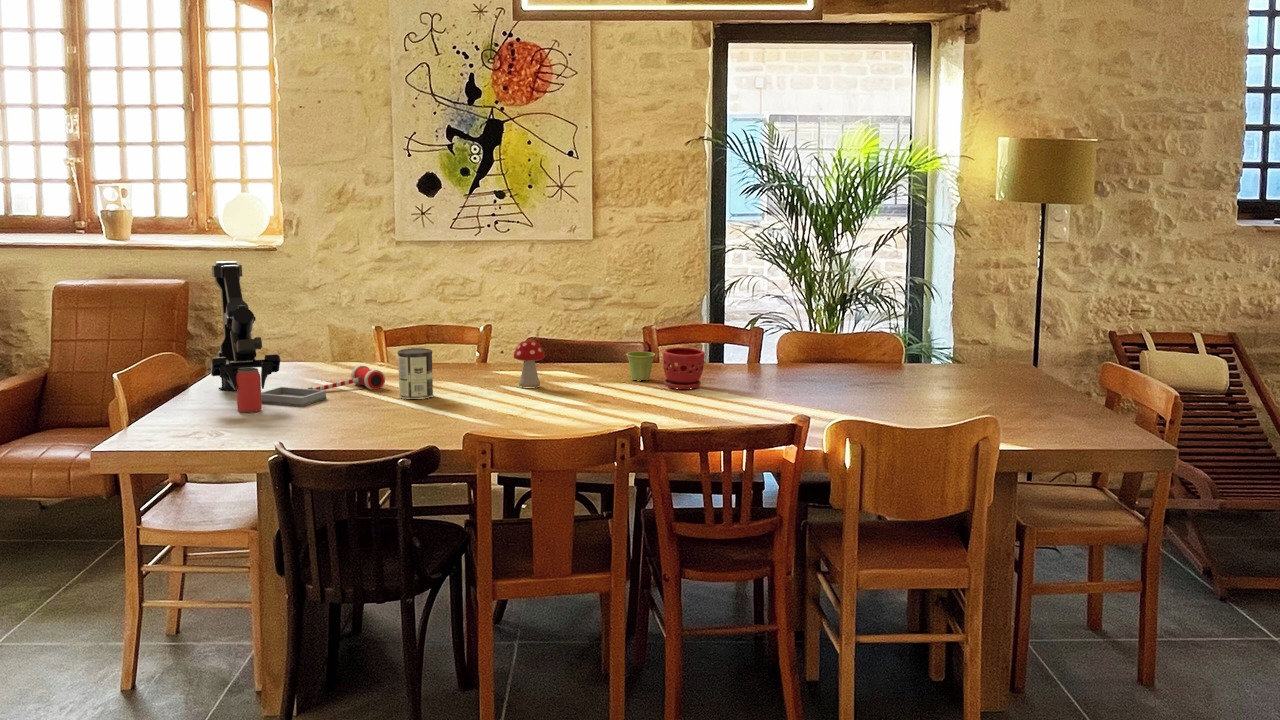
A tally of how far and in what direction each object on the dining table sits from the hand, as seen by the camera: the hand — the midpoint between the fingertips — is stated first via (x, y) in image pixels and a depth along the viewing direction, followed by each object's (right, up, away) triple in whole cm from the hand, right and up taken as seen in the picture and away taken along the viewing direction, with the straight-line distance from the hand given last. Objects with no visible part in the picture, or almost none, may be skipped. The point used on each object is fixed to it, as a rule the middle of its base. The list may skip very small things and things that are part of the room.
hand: (249, 388), depth 362 cm
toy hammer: (+21, -1, +36) cm, 42 cm away
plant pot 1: (+111, +1, +54) cm, 123 cm away
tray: (+7, -4, +17) cm, 19 cm away
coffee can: (+43, -3, +24) cm, 49 cm away
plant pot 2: (+124, -1, +42) cm, 131 cm away
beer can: (-1, -6, +2) cm, 7 cm away
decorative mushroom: (+76, -1, +41) cm, 86 cm away
